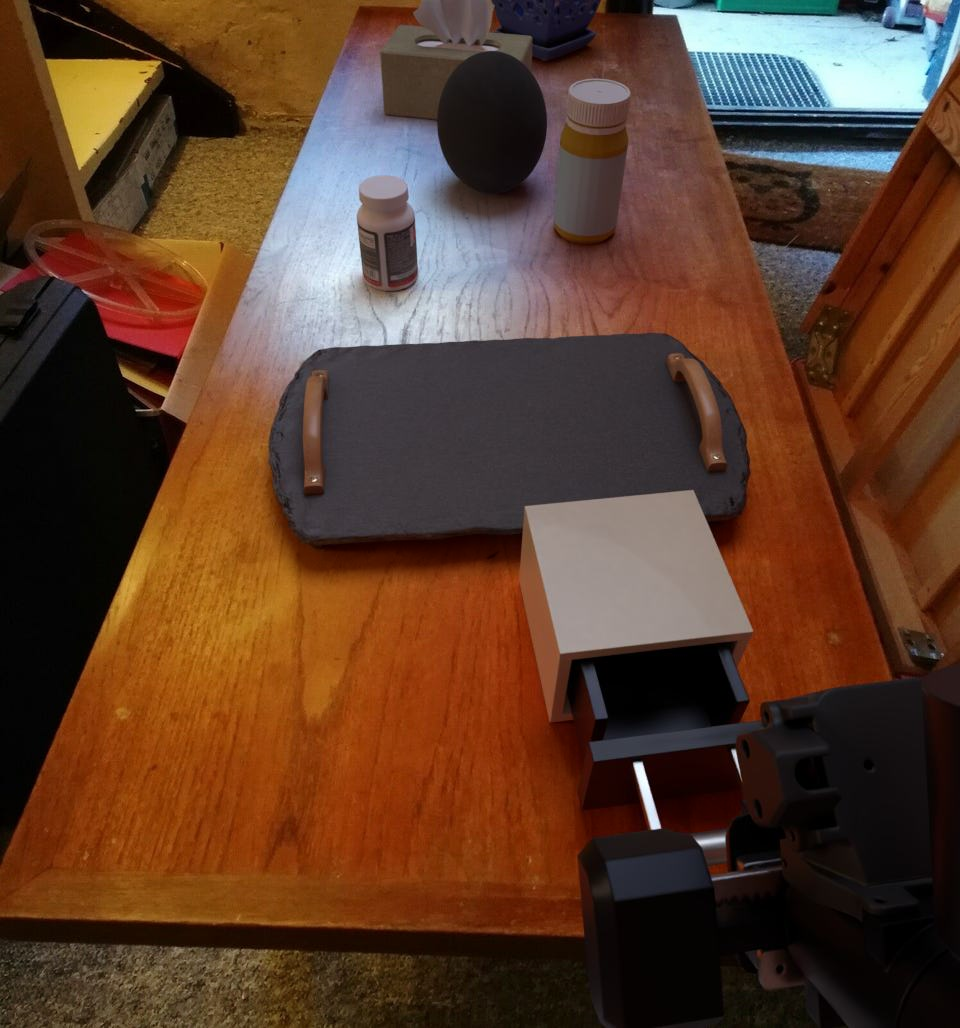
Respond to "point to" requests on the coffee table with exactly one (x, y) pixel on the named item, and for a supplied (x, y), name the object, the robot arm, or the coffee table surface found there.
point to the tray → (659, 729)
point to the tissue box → (439, 53)
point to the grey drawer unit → (623, 584)
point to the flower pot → (548, 23)
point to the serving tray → (498, 434)
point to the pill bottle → (387, 233)
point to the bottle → (591, 161)
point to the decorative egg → (492, 122)
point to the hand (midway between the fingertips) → (749, 809)
